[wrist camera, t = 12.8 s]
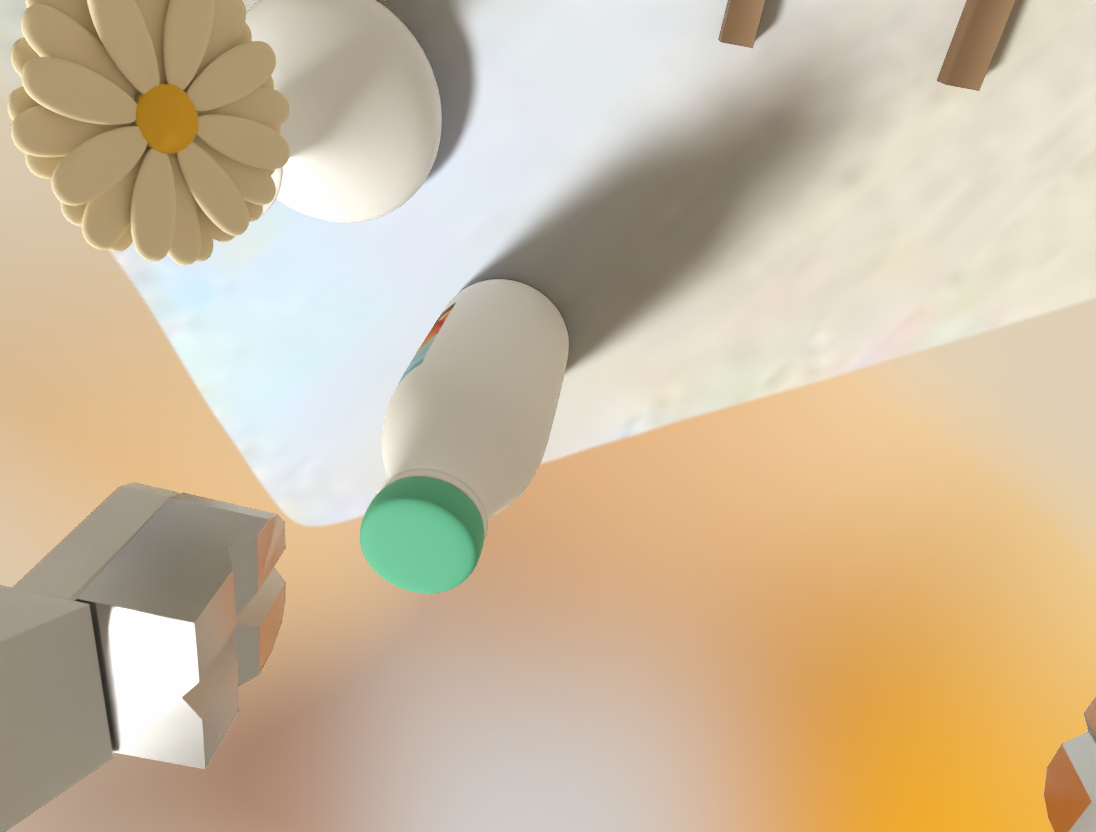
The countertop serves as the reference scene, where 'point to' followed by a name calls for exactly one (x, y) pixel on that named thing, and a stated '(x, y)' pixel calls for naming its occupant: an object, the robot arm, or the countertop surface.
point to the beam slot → (963, 58)
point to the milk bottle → (464, 433)
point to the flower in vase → (220, 115)
